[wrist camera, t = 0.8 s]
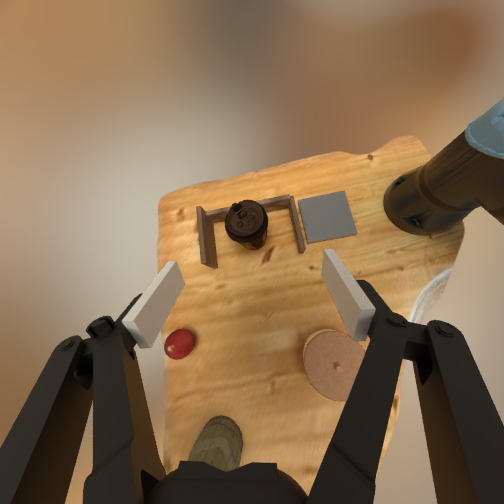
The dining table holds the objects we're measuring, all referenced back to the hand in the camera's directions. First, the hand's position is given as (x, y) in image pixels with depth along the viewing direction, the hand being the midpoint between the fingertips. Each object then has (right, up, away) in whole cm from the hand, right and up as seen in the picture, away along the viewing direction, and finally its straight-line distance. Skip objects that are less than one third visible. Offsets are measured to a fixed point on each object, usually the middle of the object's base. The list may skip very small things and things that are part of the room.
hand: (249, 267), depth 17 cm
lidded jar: (+16, -19, +22) cm, 33 cm away
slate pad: (+18, +10, +28) cm, 35 cm away
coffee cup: (+1, +5, +30) cm, 30 cm away
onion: (-15, -19, +26) cm, 36 cm away
